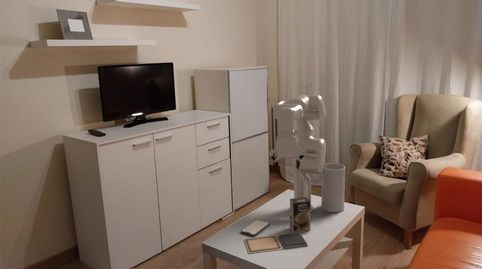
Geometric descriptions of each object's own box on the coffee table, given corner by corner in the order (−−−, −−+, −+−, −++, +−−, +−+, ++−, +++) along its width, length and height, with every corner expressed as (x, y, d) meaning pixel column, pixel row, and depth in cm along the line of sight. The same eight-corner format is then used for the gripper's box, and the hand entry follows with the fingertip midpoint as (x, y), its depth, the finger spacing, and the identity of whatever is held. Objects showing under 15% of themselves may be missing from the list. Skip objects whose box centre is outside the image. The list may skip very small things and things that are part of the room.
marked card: (243, 239, 181) (243, 238, 181) (275, 235, 184) (275, 234, 184) (248, 253, 169) (248, 252, 169) (282, 249, 172) (282, 248, 171)
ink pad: (278, 237, 182) (278, 234, 182) (299, 234, 184) (299, 232, 184) (284, 249, 172) (284, 246, 171) (307, 246, 174) (307, 243, 173)
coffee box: (293, 233, 186) (293, 203, 182) (289, 227, 192) (289, 198, 188) (310, 230, 188) (311, 201, 184) (306, 225, 194) (306, 196, 190)
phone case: (256, 221, 201) (239, 233, 188) (256, 219, 201) (239, 230, 188) (270, 225, 196) (254, 238, 183) (270, 222, 196) (254, 235, 183)
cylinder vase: (327, 202, 221) (328, 161, 215) (347, 207, 213) (349, 165, 208) (317, 209, 211) (318, 167, 206) (338, 214, 204) (339, 171, 198)
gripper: (304, 131, 176) (304, 165, 180) (267, 132, 176) (268, 167, 180) (306, 134, 169) (306, 170, 173) (268, 136, 169) (269, 172, 173)
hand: (287, 168), depth 177 cm, fingers open, 9 cm apart
